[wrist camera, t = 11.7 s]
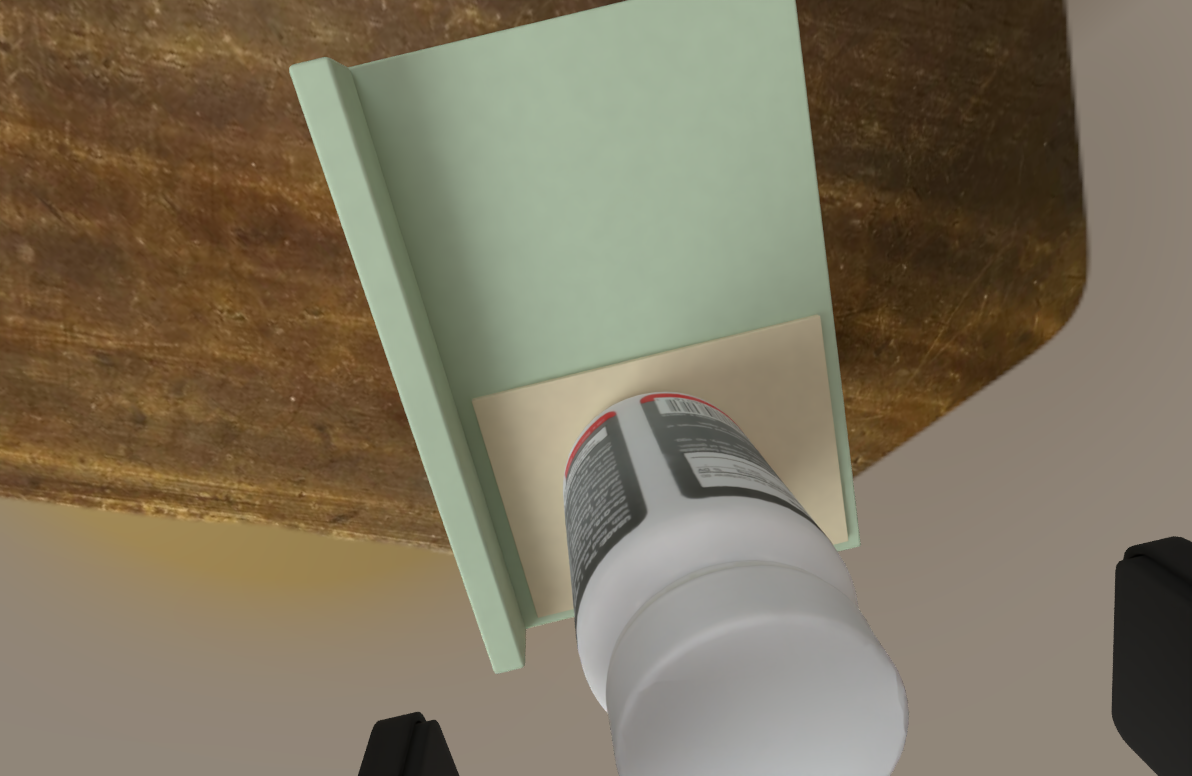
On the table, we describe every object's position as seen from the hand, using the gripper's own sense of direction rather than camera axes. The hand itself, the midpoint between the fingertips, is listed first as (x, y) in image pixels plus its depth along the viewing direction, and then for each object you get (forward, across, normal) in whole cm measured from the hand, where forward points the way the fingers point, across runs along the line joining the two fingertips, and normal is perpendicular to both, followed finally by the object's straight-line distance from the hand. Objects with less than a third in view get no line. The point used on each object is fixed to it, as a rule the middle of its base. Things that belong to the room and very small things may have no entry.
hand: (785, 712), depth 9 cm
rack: (+19, +1, -3) cm, 19 cm away
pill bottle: (+8, +1, 0) cm, 8 cm away
